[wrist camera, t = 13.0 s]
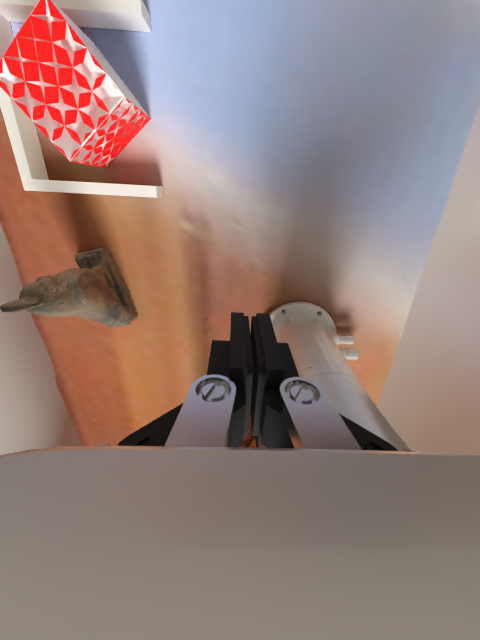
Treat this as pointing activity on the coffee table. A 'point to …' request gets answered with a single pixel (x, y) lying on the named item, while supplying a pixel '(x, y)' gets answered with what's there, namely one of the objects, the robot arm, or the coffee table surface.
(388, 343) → the coffee table surface
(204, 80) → the coffee table surface
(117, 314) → the worn brown figurine
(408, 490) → the robot arm
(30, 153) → the white shallow walled frame
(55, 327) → the coffee table surface
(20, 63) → the red white patterned box
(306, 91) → the coffee table surface
